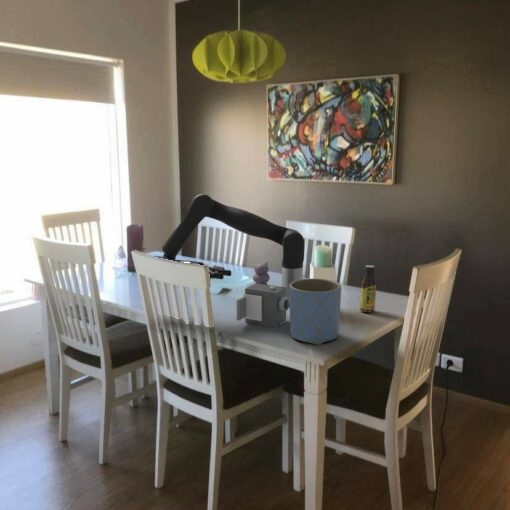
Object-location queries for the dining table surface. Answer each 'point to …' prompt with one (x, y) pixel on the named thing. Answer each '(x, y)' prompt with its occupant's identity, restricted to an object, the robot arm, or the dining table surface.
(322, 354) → the dining table surface
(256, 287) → the camera housing
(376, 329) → the dining table surface
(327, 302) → the planter
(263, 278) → the cat figurine
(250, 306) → the side door
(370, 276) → the sauce bottle
